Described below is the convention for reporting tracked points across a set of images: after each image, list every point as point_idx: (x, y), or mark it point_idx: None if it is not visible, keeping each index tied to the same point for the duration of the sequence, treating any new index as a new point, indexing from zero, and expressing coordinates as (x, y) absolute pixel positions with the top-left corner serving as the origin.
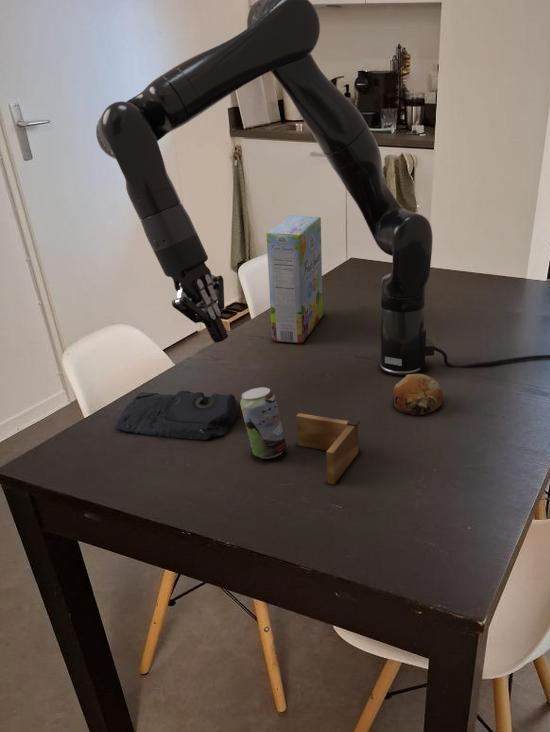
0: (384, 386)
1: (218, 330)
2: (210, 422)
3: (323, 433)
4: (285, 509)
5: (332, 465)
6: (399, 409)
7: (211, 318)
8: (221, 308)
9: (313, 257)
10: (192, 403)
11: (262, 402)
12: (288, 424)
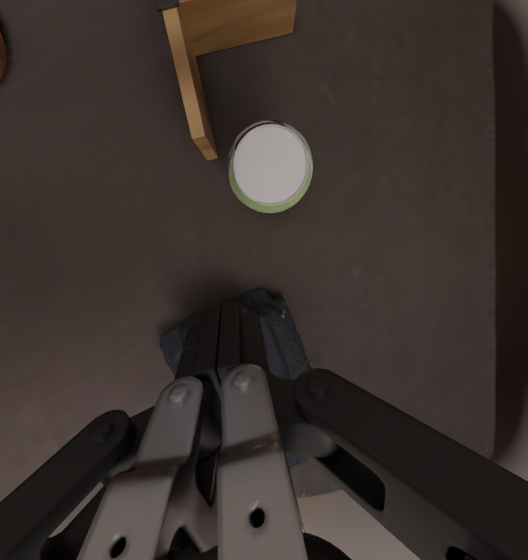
0: None
1: (241, 331)
2: (261, 315)
3: (198, 88)
4: (388, 47)
5: None
6: (4, 61)
7: (264, 375)
8: (127, 416)
9: None
10: None
11: (292, 128)
12: (167, 221)
